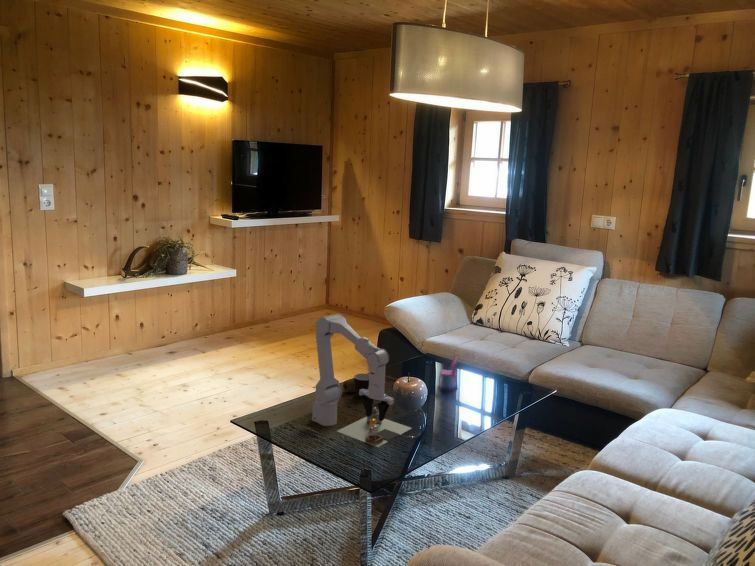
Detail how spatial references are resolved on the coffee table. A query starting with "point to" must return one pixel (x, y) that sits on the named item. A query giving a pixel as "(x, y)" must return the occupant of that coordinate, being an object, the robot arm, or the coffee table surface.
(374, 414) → the cylinder
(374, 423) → the lever
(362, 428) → the board
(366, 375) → the coffee mug
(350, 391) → the stone weight
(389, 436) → the rubber pad
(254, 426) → the coffee table surface
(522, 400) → the coffee table surface
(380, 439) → the frame
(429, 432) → the coffee table surface
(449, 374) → the toy chair
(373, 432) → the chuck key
